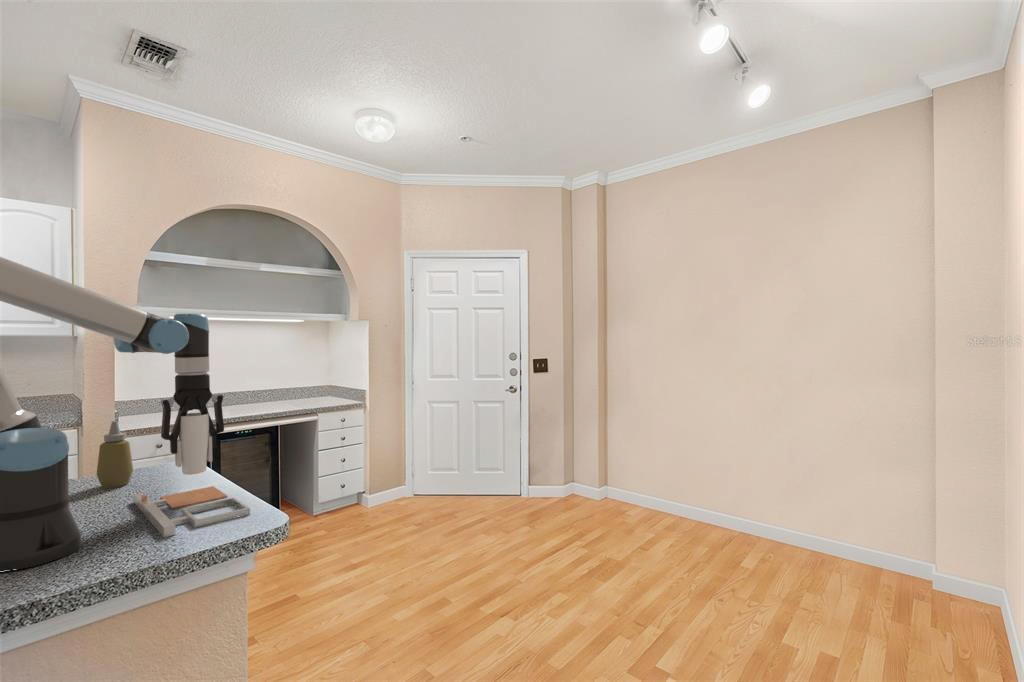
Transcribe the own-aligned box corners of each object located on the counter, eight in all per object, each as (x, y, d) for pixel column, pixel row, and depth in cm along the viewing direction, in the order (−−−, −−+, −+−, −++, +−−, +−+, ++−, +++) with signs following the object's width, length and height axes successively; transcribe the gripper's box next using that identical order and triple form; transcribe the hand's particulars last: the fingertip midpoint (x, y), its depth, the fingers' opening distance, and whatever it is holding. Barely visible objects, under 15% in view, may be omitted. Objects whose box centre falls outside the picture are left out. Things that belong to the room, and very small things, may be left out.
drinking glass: (207, 474, 128) (206, 415, 127) (175, 477, 125) (174, 417, 125) (212, 467, 134) (211, 411, 134) (182, 470, 131) (181, 413, 131)
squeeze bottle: (138, 484, 142) (137, 420, 142) (103, 491, 135) (102, 424, 135) (126, 479, 146) (125, 418, 146) (91, 486, 139) (90, 422, 139)
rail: (254, 515, 116) (254, 502, 116) (164, 537, 104) (163, 523, 104) (212, 486, 139) (211, 476, 139) (133, 502, 126) (133, 490, 126)
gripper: (228, 370, 139) (230, 454, 139) (143, 375, 125) (145, 468, 125) (237, 372, 133) (239, 458, 134) (150, 377, 120) (152, 473, 120)
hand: (194, 463), depth 129 cm, fingers closed on drinking glass, 6 cm apart
